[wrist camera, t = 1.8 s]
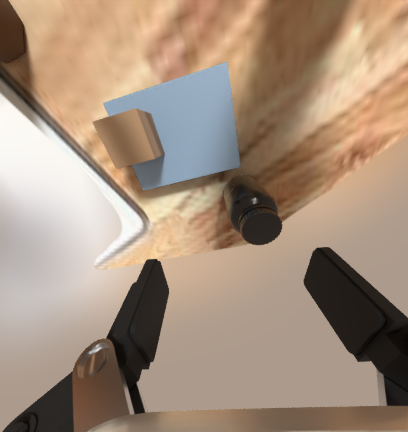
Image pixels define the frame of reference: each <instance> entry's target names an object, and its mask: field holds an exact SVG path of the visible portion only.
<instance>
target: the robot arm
mask: <svg viewBox="0 0 408 432" xmlns="http://www.w3.org/2000/svg"><path fill="white" fill-rule="evenodd" d="M304 285H305V287H306V289H307V290H308V292H309V293H310V295H311V296H312V298H313V299H314V301H315V302H316V304H317V305H318V307H319V308H320V310H321V311H322V313H323V314H324V316H325V317H326V319H327V320H328V321H329V323H330V325H331V326H332V328H333V329H334V331H335V332H336V334H337V335H338V337H339V338H340V340H341V341H342V343H343V344H344V346H345V347H346V349H347V350H348V351H349V352H350V353H351V354H353V355H354V356H355V358H356V359H357V361H358V362H364V361H372V363H373V364H374V365H375V367H376V370H377V381H378V392H379V405H380V406H359V407H358V406H356V407H307V408H265V409H264V408H262V409H224V410H192V411H191V410H189V411H169V412H150V413H148V411H147V407H146V404H145V401H144V398H143V395H142V392H141V388H140V385H139V382H138V381H139V378H140V375H141V371H142V369H149V366H150V362H153V361H154V358H155V354H156V349H157V345H158V340H159V336H160V331H161V327H162V322H163V318H164V313H165V309H166V304H167V300H168V295H169V288H168V285H167V281H166V278H165V275H164V272H163V269H162V265H161V262H160V261H158V260H157V259H149V260H146V262H145V264H144V266H143V269H142V271H141V273H140V275H139V277H138V280H137V282H135V283H134V284H132V286H131V288H130V290H129V292H128V294H127V296H126V298H125V300H124V302H123V305H122V307H121V309H120V311H119V313H118V315H117V317H116V319H115V321H114V323H113V325H112V327H111V329H110V332H109V334H108V336H107V338H106V339H100V340H97V341H95V342H94V343H92V344H91V345H90V346H88V347H87V348H86V349H85V350H84V351H83V353H82V354H81V355H80V357H79V358H78V360H77V361H76V363H75V366H74V369H73V371H72V372H71V373H70V374H69V375H68V376H66V377H65V378H64V379H63V380H61V381H60V382H59V383H58V384H57V385H55V386H54V387H53V388H52V389H50V390H49V391H48V392H47V393H46V394H44V396H42V397H41V398H39V399H38V400H37V401H36V402H35V403H33V404H32V405H31V406H30V407H28V408H27V409H26V410H25V411H24V412H22V413H21V414H20V415H19V416H17V418H15V419H14V420H13V421H12V422H11V423H10V424H9V425H8V426H7V427H6V428H5V429H4V430H3V432H408V318H407V317H406V316H405V315H404V314H403V313H402V312H401V311H400V310H398V309H397V308H396V307H395V306H394V305H393V304H392V303H391V302H389V300H387V299H386V298H385V297H384V296H383V295H382V294H381V293H380V292H378V291H377V290H376V289H375V288H374V287H373V286H372V285H371V284H370V283H369V282H367V281H366V280H365V279H364V278H363V277H362V276H361V275H360V274H358V273H357V272H356V271H355V270H354V269H353V268H352V267H350V265H349V264H347V263H346V262H345V261H344V260H343V259H342V258H341V257H340V256H338V255H337V254H336V253H335V252H334V251H333V250H332V249H331V248H329V247H322V248H316V249H315V251H313V253H312V256H311V259H310V263H309V266H308V269H307V272H306V275H305V278H304Z"/></svg>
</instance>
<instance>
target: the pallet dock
mask: <svg viewBox="0 0 408 432" xmlns="http://www.w3.org/2000/svg"><path fill="white" fill-rule="evenodd" d="M103 104H104V106H105V109H106V111H107V113H108V115H109V117H110V116H113V115H116V114H119V113H122V112H125V111H128V110H132V109H135V108H137V109H139V110H142V111H145V112H148V113H151V115H152V118H153V121H154V124H155V126H156V129H157V132H158V135H159V138H160V141H161V144H162V147H163V150H164V153H165V154H163V155H161V156H159V157H157V158H155V159H152V160H149V161H145V162H141V163H137V164H134V165H132V167H133V170H134V172H135V174H136V176H137V178H138V180H139V183H140V185H141V187H142V189H143V191H144V190H148V189H152V188H156V187H161V186H165V185H169V184H173V183H177V182H181V181H185V180H189V179H193V178H197V177H201V176H205V175H209V174H213V173H218V172H222V171H226V170H230V169H234V168H238V167H241V166H240V158H239V150H238V142H237V134H236V126H235V118H234V110H233V102H232V94H231V86H230V78H229V70H228V62H225V63H222V64H219V65H216V66H213V67H210V68H207V69H204V70H201V71H198V72H195V73H192V74H189V75H186V76H183V77H180V78H177V79H174V80H171V81H168V82H165V83H162V84H159V85H156V86H153V87H150V88H147V89H144V90H141V91H138V92H135V93H132V94H129V95H126V96H123V97H120V98H117V99H114V100H111V101H108V102H105V103H103Z"/></svg>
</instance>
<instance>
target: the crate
mask: <svg viewBox="0 0 408 432" xmlns="http://www.w3.org/2000/svg"><path fill="white" fill-rule="evenodd" d="M93 124H94V126H95V128H96V130H97V132H98V134H99V136H100V138H101V140H102V142H103V144H104V146H105V148H106V150H107V152H108V154H109V156H110V158H111V160H112V162H113V163H114V165H115V167H116V169H119V168H123V167H126V166H130V165H134V164H137V163H141V162H145V161H149V160H152V159H155V158H157V157H159V156H161V155H163V154H165V153H164V150H163V147H162V144H161V141H160V138H159V135H158V132H157V129H156V126H155V124H154V121H153V118H152V115H151V113H148V112H145V111H142V110H139V109H137V108H135V109H132V110H128V111H125V112H122V113H119V114H116V115H113V116H110V117H106V118H103V119H100V120H97V121H94V122H93Z"/></svg>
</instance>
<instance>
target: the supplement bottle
mask: <svg viewBox="0 0 408 432" xmlns="http://www.w3.org/2000/svg"><path fill="white" fill-rule="evenodd" d="M223 197H224V202H225V206H226V210H227V214H228V218H229V221H230V224H231V225H232V227H233V228H234V229H235V230H236V231H238V232H240V233H241V234H242V237H243V238H244V240H246V241H247V242H249V243H250V244H253V245H264V244H268V243H269V242H272V241H273V240H275V238H277V237H278V235H279V234H280V232H281V229H282V221H281V220H280V217H279V216H278V212H279V209H278V204H277V202H276V200H275V199H274V198H273V196H272V195H271V194H270V193H269V192H268V191H267V190H266V189H265V188H264V187H263V186H262V185H261V184H260V183H259V182H258V181H257V180H255V179H254V178H252V177H250V176H238V177H235V178H233V179H232V180H231V181H229V182H228V184H227V185H226V187H225V189H224V193H223Z"/></svg>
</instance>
